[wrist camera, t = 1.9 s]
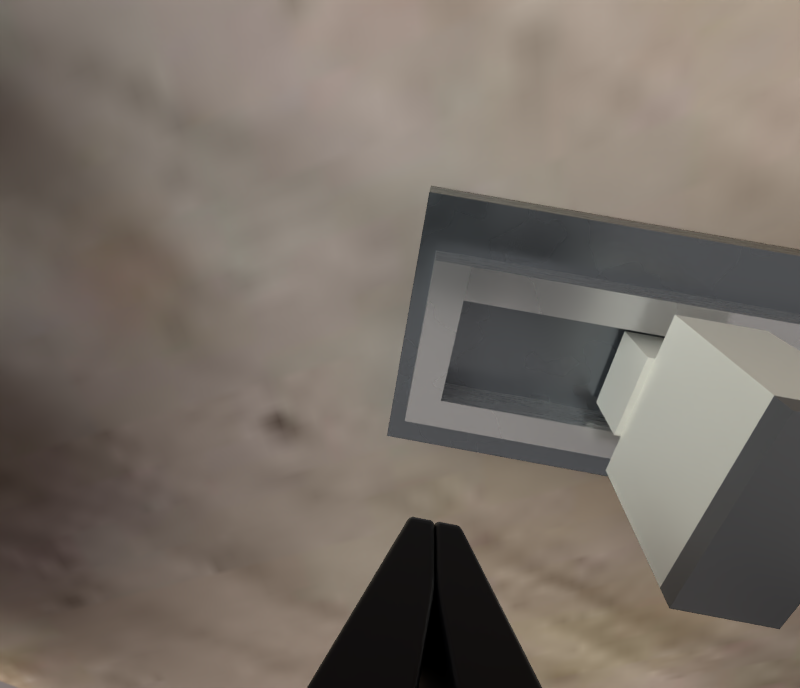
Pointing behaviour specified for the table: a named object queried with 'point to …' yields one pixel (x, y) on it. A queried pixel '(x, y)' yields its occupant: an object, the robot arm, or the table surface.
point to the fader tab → (711, 465)
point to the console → (558, 319)
